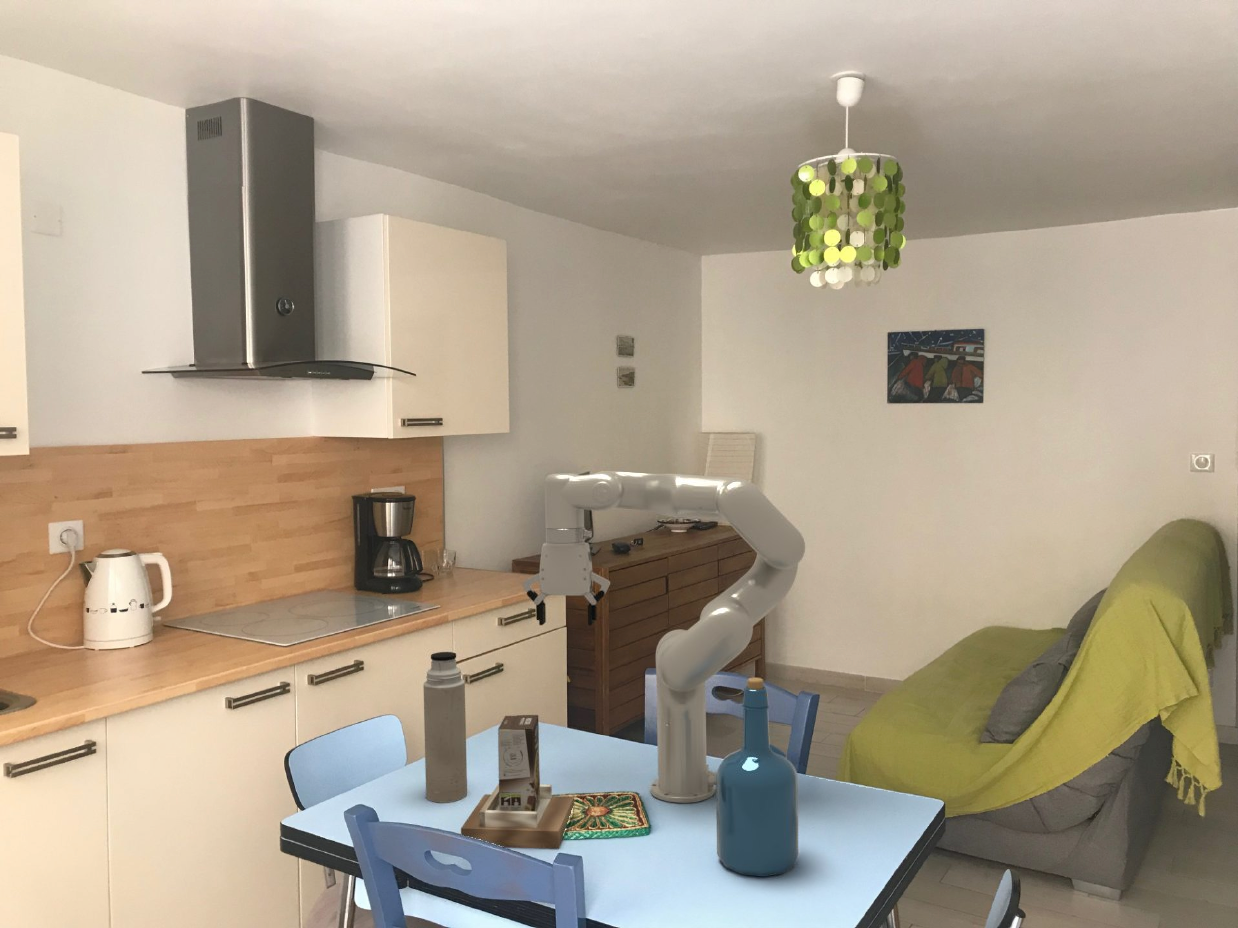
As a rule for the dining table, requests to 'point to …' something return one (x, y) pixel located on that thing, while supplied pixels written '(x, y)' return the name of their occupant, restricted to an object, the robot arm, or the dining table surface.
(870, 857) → the dining table surface
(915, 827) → the dining table surface
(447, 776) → the thermos bottle
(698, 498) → the robot arm
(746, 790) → the wine bottle
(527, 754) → the coffee box
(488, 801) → the dock
